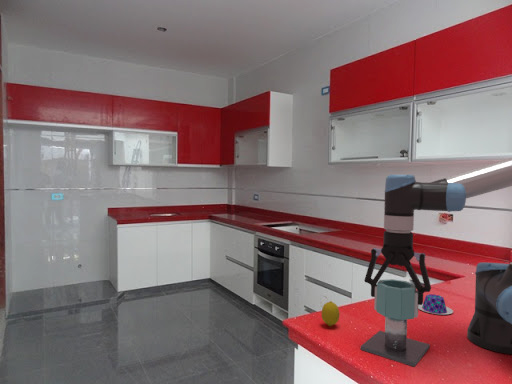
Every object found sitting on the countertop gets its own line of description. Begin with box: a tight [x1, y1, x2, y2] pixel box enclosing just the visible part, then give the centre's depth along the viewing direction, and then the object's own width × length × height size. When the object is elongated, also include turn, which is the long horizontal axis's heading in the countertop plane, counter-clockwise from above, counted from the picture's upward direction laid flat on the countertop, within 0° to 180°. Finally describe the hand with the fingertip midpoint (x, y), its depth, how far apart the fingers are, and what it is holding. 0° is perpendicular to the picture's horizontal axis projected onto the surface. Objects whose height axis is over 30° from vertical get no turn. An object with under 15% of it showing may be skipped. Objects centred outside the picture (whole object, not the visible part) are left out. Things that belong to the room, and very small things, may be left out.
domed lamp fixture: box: [360, 317, 431, 368], centre depth 99 cm, size 14×14×11 cm
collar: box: [376, 278, 417, 321], centre depth 98 cm, size 10×10×8 cm
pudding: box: [418, 293, 454, 315], centre depth 131 cm, size 12×12×5 cm
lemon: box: [321, 300, 340, 327], centre depth 114 cm, size 6×6×8 cm
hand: (395, 312), depth 99 cm, fingers closed on collar, 9 cm apart
